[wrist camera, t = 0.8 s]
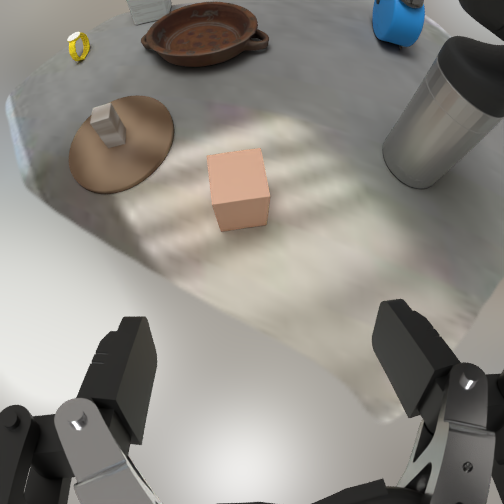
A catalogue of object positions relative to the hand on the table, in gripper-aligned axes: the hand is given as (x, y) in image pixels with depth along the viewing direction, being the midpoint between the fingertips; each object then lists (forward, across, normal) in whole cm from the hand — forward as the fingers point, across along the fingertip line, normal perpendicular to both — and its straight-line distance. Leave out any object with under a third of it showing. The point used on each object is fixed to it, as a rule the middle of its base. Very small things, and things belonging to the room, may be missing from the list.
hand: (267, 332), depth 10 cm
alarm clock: (+48, -30, -25) cm, 62 cm away
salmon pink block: (+26, 0, +4) cm, 27 cm away
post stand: (+34, +16, -5) cm, 38 cm away
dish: (+47, +5, -20) cm, 51 cm away
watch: (+50, +29, -24) cm, 63 cm away
